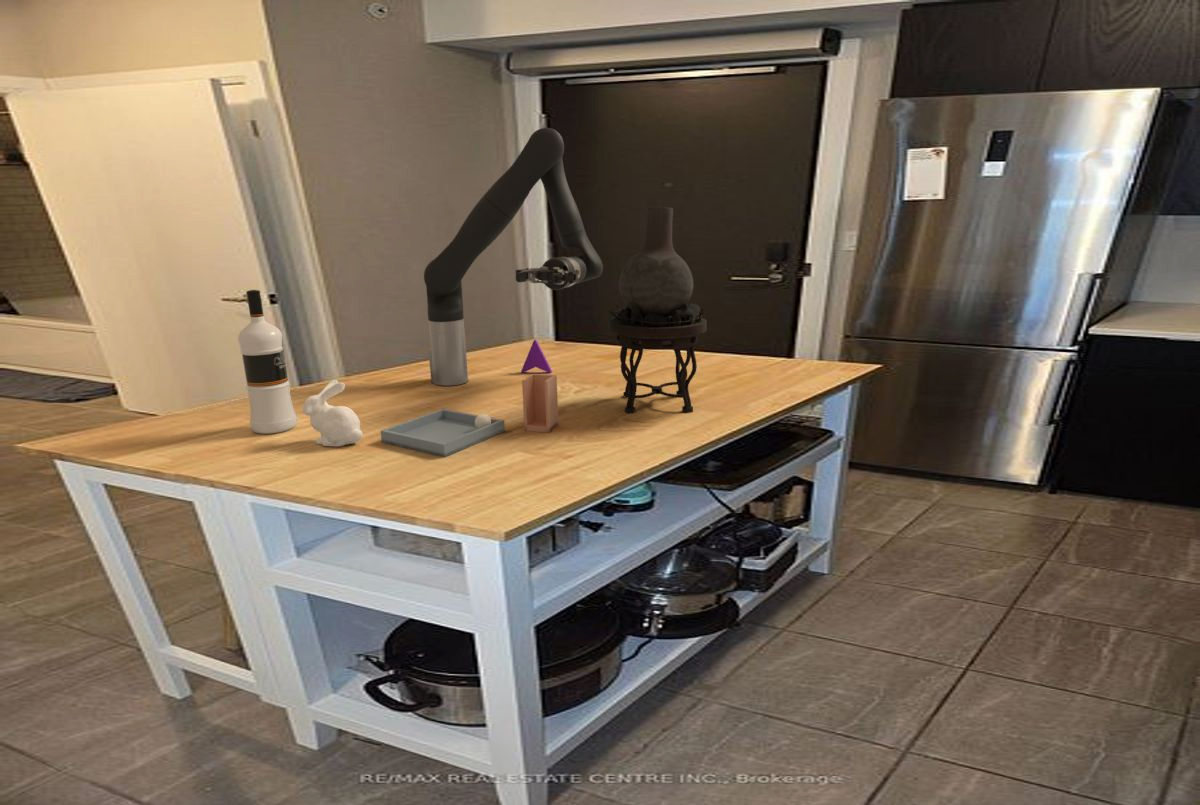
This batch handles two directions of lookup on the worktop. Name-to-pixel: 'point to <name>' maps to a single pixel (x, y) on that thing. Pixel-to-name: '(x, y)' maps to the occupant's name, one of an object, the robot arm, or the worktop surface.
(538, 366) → the arrowhead
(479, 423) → the ball
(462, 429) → the tray
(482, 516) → the worktop surface
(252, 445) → the worktop surface
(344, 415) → the rabbit
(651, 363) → the worktop surface
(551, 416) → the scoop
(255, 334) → the vodka
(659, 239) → the brazier
